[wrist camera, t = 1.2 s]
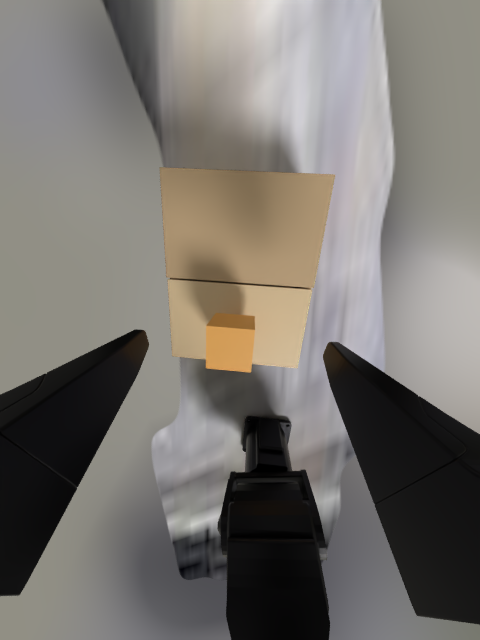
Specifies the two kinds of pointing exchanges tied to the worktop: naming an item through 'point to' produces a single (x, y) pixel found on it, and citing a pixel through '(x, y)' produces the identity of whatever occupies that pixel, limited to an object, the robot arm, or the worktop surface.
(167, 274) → the carton
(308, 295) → the pull drawer
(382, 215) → the worktop surface
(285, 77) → the worktop surface
